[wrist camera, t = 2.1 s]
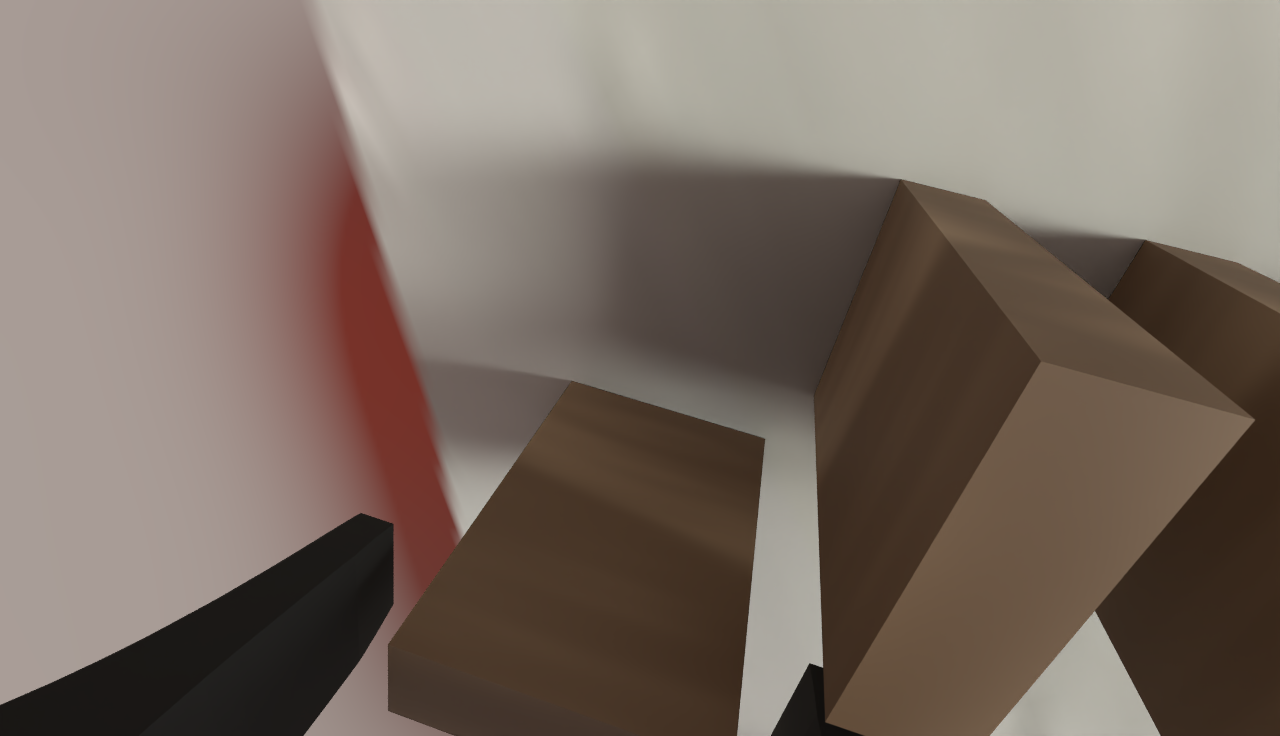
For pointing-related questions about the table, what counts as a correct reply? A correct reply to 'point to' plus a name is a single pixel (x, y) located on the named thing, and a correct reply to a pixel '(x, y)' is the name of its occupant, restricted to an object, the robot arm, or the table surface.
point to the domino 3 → (1210, 511)
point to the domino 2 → (986, 467)
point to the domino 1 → (594, 584)
